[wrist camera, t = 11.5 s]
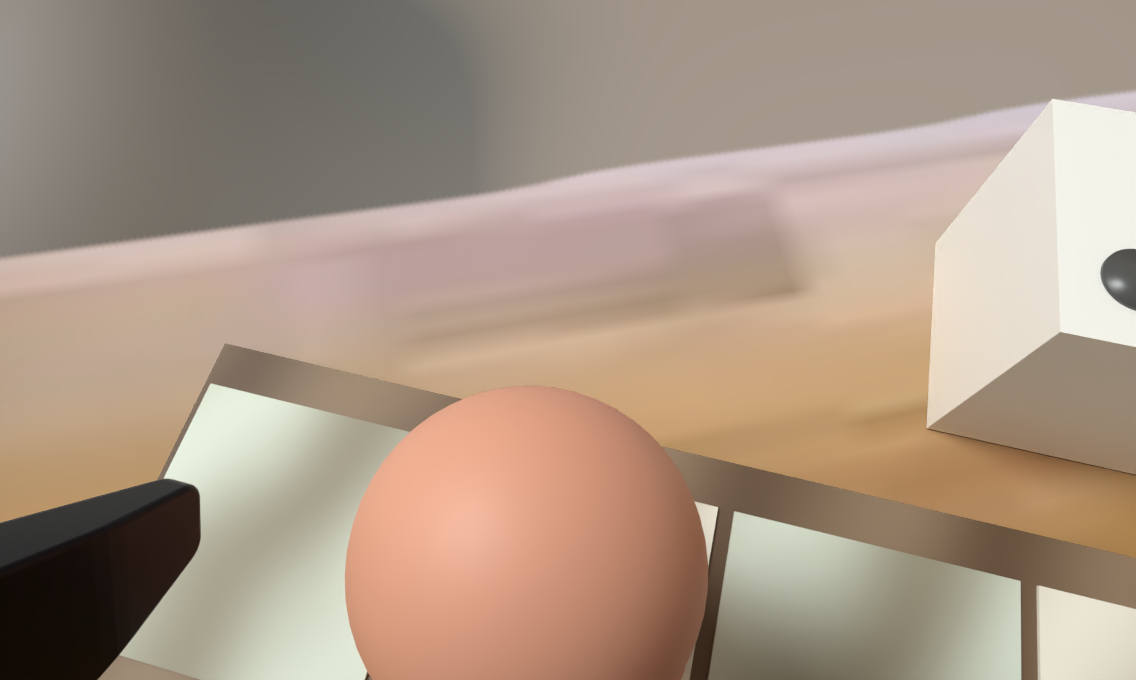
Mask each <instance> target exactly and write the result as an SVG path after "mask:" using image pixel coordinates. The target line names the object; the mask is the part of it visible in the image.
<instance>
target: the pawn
mask: <svg viewBox="0 0 1136 680" xmlns="http://www.w3.org/2000/svg"><path fill="white" fill-rule="evenodd" d="M707 591H708V558H707V549H706V540H705V536H704V532H703V528H702V523H701V519H700V516H699V513H698V510H697V507H696V505H695V502H694V499H693V497H692V494H691V492H690V489H689V488H688V486H687V484H686V482H685V480H684V478H683V476H682V474H681V473H680V471H679V469H678V468H677V466H676V465H675V464H674V462H673V461H672V459H671V458H670V456H669V455H668V454H667V452H666V451H665V450H664V449H663V448H662V447H661V446H660V444H659V443H658V442H657V441H656V440H655V439H654V438H653V437H652V436H651V435H650V434H649V433H648V432H647V431H645V430H644V429H643V428H642V427H641V426H640V425H638V424H637V423H636V422H635V421H633V420H632V419H630V418H629V417H627V416H626V415H624V414H623V413H621V412H620V411H618V410H617V409H615V408H613V407H611V406H609V405H607V404H605V403H602V402H600V401H598V400H596V399H594V398H591V397H588V396H585V395H582V394H579V393H576V392H573V391H568V390H563V389H558V388H554V387H541V386H516V387H507V388H500V389H494V390H489V391H486V392H483V393H479V394H476V395H472V396H469V397H467V398H465V399H462V400H460V401H458V402H455V403H453V404H451V405H449V406H447V407H445V408H444V409H442V410H440V411H438V412H437V413H435V414H433V415H431V416H430V417H429V418H427V419H426V420H425V421H423V422H422V423H421V424H419V425H418V426H417V427H415V428H414V429H413V430H412V431H411V432H410V433H409V434H408V435H407V436H406V437H405V438H403V439H402V440H401V441H400V442H399V443H398V444H397V445H396V447H395V448H394V449H393V450H392V451H391V453H390V454H389V455H388V456H387V457H386V459H385V460H384V461H383V463H382V464H381V466H380V467H379V469H378V470H377V472H376V473H375V475H374V476H373V478H372V479H371V481H370V483H369V485H368V487H367V489H366V491H365V493H364V495H363V497H362V499H361V502H360V504H359V507H358V510H357V513H356V516H355V519H354V522H353V525H352V529H351V534H350V538H349V543H348V548H347V555H346V566H345V600H346V606H347V612H348V618H349V624H350V628H351V631H352V634H353V638H354V641H355V644H356V648H357V650H358V652H359V655H360V657H361V659H362V661H363V663H364V666H365V668H366V670H367V672H368V674H369V675H370V677H371V678H372V680H681V678H682V676H683V673H684V671H685V667H686V664H687V662H688V660H689V658H690V655H691V653H692V650H693V648H694V646H695V643H696V641H697V639H698V635H699V631H700V628H701V624H702V620H703V617H704V613H705V606H706V598H707Z"/></svg>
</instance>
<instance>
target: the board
mask: <svg viewBox="0 0 1136 680" xmlns="http://www.w3.org/2000/svg"><path fill="white" fill-rule="evenodd" d="M460 400H462V399H459V398H454V397H450V396H446V395H442V394H437V393H433V392H429V391H425V390H420V389H416V388H412V387H408V386H403V385H399V384H395V383H391V382H386V381H382V380H378V379H374V378H369V377H365V376H361V375H357V374H352V373H348V372H344V371H340V370H335V369H331V368H327V367H323V366H318V365H314V364H310V363H306V362H301V361H297V360H293V359H289V358H285V357H280V356H276V355H272V354H268V353H263V352H259V351H255V350H251V349H246V348H242V347H238V346H234V345H229V344H225V345H224V347H223V349H222V351H221V353H220V355H219V357H218V359H217V361H216V363H215V365H214V367H213V369H212V371H211V373H210V375H209V377H208V379H207V381H206V383H205V385H204V387H203V389H202V391H201V393H200V395H199V397H198V399H197V401H196V403H195V405H194V407H193V409H192V411H191V413H190V415H189V417H188V419H187V421H186V423H185V425H184V427H183V429H182V431H181V433H180V435H179V437H178V439H177V441H176V443H175V445H174V447H173V449H172V451H171V454H170V456H169V458H168V460H167V462H166V464H165V466H164V468H163V470H162V472H161V474H160V476H159V478H158V480H160V479H167V478H168V479H174V480H178V481H181V482H185V483H188V484H192V485H194V486H195V487H197V489H198V491H199V493H200V516H201V540H200V545H199V547H198V550H197V552H196V554H195V555H194V557H193V559H192V560H191V561H190V563H189V564H188V565H187V567H186V568H185V569H184V571H183V572H182V573H181V575H180V576H179V577H178V579H177V580H176V581H175V583H174V584H173V585H172V587H171V588H170V589H169V590H168V592H167V593H166V594H165V596H164V597H163V598H162V600H161V601H160V602H159V604H158V605H157V606H156V608H155V609H154V610H153V612H152V613H151V614H150V616H149V617H148V618H147V620H146V621H145V622H144V624H143V625H142V626H141V628H140V629H139V630H138V632H137V633H136V634H135V636H134V637H133V638H132V640H131V641H130V642H129V643H128V645H127V646H126V647H125V648H124V650H123V651H122V652H121V653H120V655H119V656H118V657H117V658H116V659H115V661H114V662H113V663H112V664H111V665H110V666H109V668H108V669H107V670H106V671H105V672H104V673H103V674H102V676H101V677H100V678H99V679H98V680H372V678H371V677H370V675H369V674H368V672H367V670H366V668H365V666H364V663H363V661H362V659H361V657H360V655H359V652H358V650H357V648H356V644H355V641H354V638H353V634H352V631H351V628H350V624H349V618H348V612H347V606H346V600H345V566H346V555H347V548H348V543H349V538H350V534H351V529H352V525H353V522H354V519H355V516H356V513H357V510H358V507H359V504H360V502H361V499H362V497H363V495H364V493H365V491H366V489H367V487H368V485H369V483H370V481H371V479H372V478H373V476H374V475H375V473H376V472H377V470H378V469H379V467H380V466H381V464H382V463H383V461H384V460H385V459H386V457H387V456H388V455H389V454H390V453H391V451H392V450H393V449H394V448H395V447H396V445H397V444H398V443H399V442H400V441H401V440H402V439H403V438H405V437H406V436H407V435H408V434H409V433H410V432H411V431H412V430H413V429H414V428H415V427H417V426H418V425H419V424H421V423H422V422H423V421H425V420H426V419H427V418H429V417H430V416H431V415H433V414H435V413H437V412H438V411H440V410H442V409H444V408H445V407H447V406H449V405H451V404H453V403H455V402H458V401H460ZM661 447H662V446H661ZM662 448H663V449H664V450H665V451H666V452H667V454H668V455H669V456H670V458H671V459H672V461H673V462H674V464H675V465H676V466H677V468H678V469H679V471H680V473H681V474H682V476H683V478H684V480H685V482H686V484H687V486H688V488H689V489H690V492H691V494H692V497H693V499H694V502H695V505H696V507H697V510H698V513H699V516H700V519H701V523H702V528H703V532H704V536H705V540H706V549H707V558H708V591H707V598H706V606H705V613H704V617H703V620H702V624H701V628H700V631H699V635H698V639H697V641H696V643H695V646H694V648H693V650H692V653H691V655H690V658H689V660H688V662H687V664H686V667H685V671H684V673H683V676H682V678H681V680H1136V558H1133V557H1129V556H1125V555H1121V554H1116V553H1112V552H1108V551H1104V550H1099V549H1095V548H1091V547H1087V546H1082V545H1078V544H1074V543H1070V542H1065V541H1061V540H1057V539H1053V538H1048V537H1044V536H1040V535H1036V534H1031V533H1027V532H1023V531H1019V530H1015V529H1010V528H1006V527H1002V526H998V525H993V524H989V523H985V522H981V521H976V520H972V519H968V518H964V517H959V516H955V515H951V514H947V513H942V512H938V511H934V510H930V509H925V508H921V507H917V506H913V505H908V504H904V503H900V502H896V501H891V500H887V499H883V498H879V497H874V496H870V495H866V494H862V493H857V492H853V491H849V490H845V489H840V488H836V487H832V486H828V485H824V484H819V483H815V482H811V481H807V480H802V479H798V478H794V477H790V476H785V475H781V474H777V473H773V472H768V471H764V470H760V469H756V468H751V467H747V466H743V465H739V464H734V463H730V462H726V461H722V460H717V459H713V458H709V457H705V456H700V455H696V454H692V453H688V452H683V451H679V450H675V449H671V448H666V447H662Z"/></svg>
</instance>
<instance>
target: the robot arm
mask: <svg viewBox="0 0 1136 680" xmlns="http://www.w3.org/2000/svg"><path fill="white" fill-rule="evenodd" d="M200 540H201V516H200V493H199V491H198V489H197V487H195V486H194V485H192V484H188V483H185V482H181V481H178V480H174V479H168V478H167V479H160V480H157V481H153V482H149V483H145V484H142V485H138V486H134V487H131V488H127V489H123V490H120V491H116V492H112V493H109V494H105V495H101V496H97V497H94V498H90V499H86V500H83V501H79V502H75V503H72V504H68V505H64V506H61V507H57V508H53V509H50V510H46V511H42V512H38V513H35V514H31V515H27V516H24V517H20V518H16V519H13V520H9V521H5V522H2V523H0V680H98V679H99V678H100V677H101V676H102V674H103V673H104V672H105V671H106V670H107V669H108V668H109V666H110V665H111V664H112V663H113V662H114V661H115V659H116V658H117V657H118V656H119V655H120V653H121V652H122V651H123V650H124V648H125V647H126V646H127V645H128V643H129V642H130V641H131V640H132V638H133V637H134V636H135V634H136V633H137V632H138V630H139V629H140V628H141V626H142V625H143V624H144V622H145V621H146V620H147V618H148V617H149V616H150V614H151V613H152V612H153V610H154V609H155V608H156V606H157V605H158V604H159V602H160V601H161V600H162V598H163V597H164V596H165V594H166V593H167V592H168V590H169V589H170V588H171V587H172V585H173V584H174V583H175V581H176V580H177V579H178V577H179V576H180V575H181V573H182V572H183V571H184V569H185V568H186V567H187V565H188V564H189V563H190V561H191V560H192V559H193V557H194V555H195V554H196V552H197V550H198V547H199V545H200Z"/></svg>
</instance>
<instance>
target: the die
mask: <svg viewBox="0 0 1136 680" xmlns="http://www.w3.org/2000/svg"><path fill="white" fill-rule="evenodd" d="M927 429H932V430H936V431H941V432H945V433H950V434H954V435H959V436H963V437H968V438H972V439H977V440H981V441H986V442H991V443H995V444H1000V445H1004V446H1009V447H1013V448H1018V449H1022V450H1027V451H1031V452H1036V453H1040V454H1045V455H1049V456H1054V457H1058V458H1063V459H1067V460H1072V461H1076V462H1081V463H1085V464H1090V465H1094V466H1099V467H1103V468H1108V469H1112V470H1117V471H1121V472H1126V473H1130V474H1135V475H1136V112H1130V111H1124V110H1117V109H1111V108H1105V107H1099V106H1093V105H1087V104H1080V103H1074V102H1068V101H1062V100H1056V99H1052V100H1051V101H1050V103H1049V104H1048V105H1047V106H1046V107H1045V109H1044V110H1043V111H1042V112H1041V114H1040V115H1039V116H1038V117H1037V119H1036V120H1035V121H1034V122H1033V124H1032V125H1031V126H1030V127H1029V128H1028V130H1027V131H1026V132H1025V133H1024V135H1023V136H1022V137H1021V138H1020V140H1019V141H1018V142H1017V143H1016V145H1015V146H1014V147H1013V148H1012V149H1011V151H1010V152H1009V153H1008V154H1007V156H1006V157H1005V158H1004V159H1003V161H1002V162H1001V163H1000V164H999V166H998V167H997V168H996V169H995V170H994V172H993V173H992V174H991V175H990V177H989V178H988V179H987V180H986V182H985V183H984V184H983V185H982V187H981V188H980V189H979V190H978V191H977V193H976V194H975V195H974V196H973V198H972V199H971V200H970V201H969V203H968V204H967V205H966V206H965V208H964V209H963V210H962V211H961V212H960V214H959V215H958V216H957V217H956V219H955V220H954V221H953V222H952V224H951V225H950V226H949V227H948V228H947V230H946V231H945V232H944V233H943V235H942V236H941V237H940V238H939V240H938V241H937V242H936V245H935V266H934V286H933V307H932V327H931V348H930V368H929V389H928V409H927Z"/></svg>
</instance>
